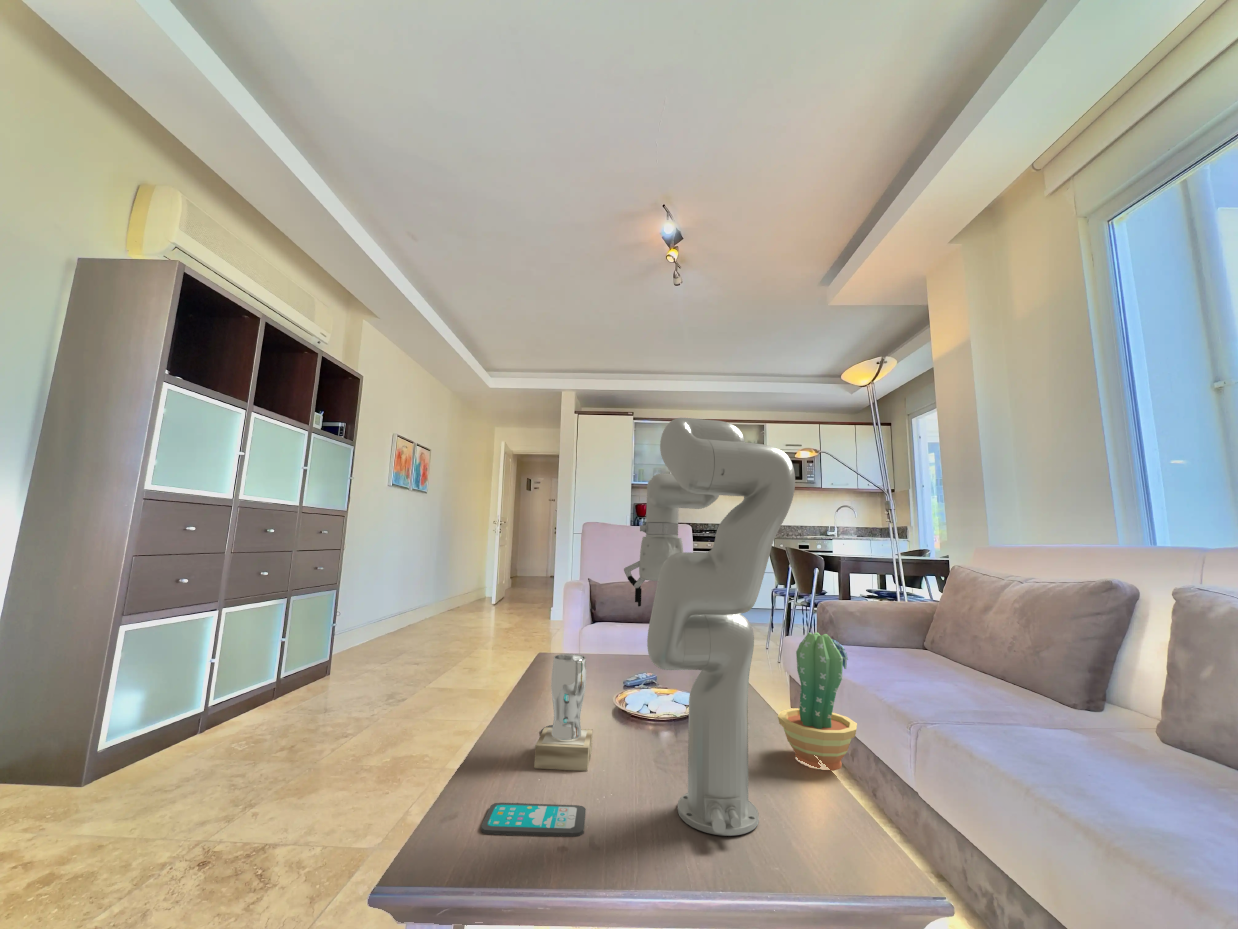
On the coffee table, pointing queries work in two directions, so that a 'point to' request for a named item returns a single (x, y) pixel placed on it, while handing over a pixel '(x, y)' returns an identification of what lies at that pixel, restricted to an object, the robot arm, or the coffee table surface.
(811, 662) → the potted cactus
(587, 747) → the oak plinth
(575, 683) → the beer glass
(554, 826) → the smartphone
